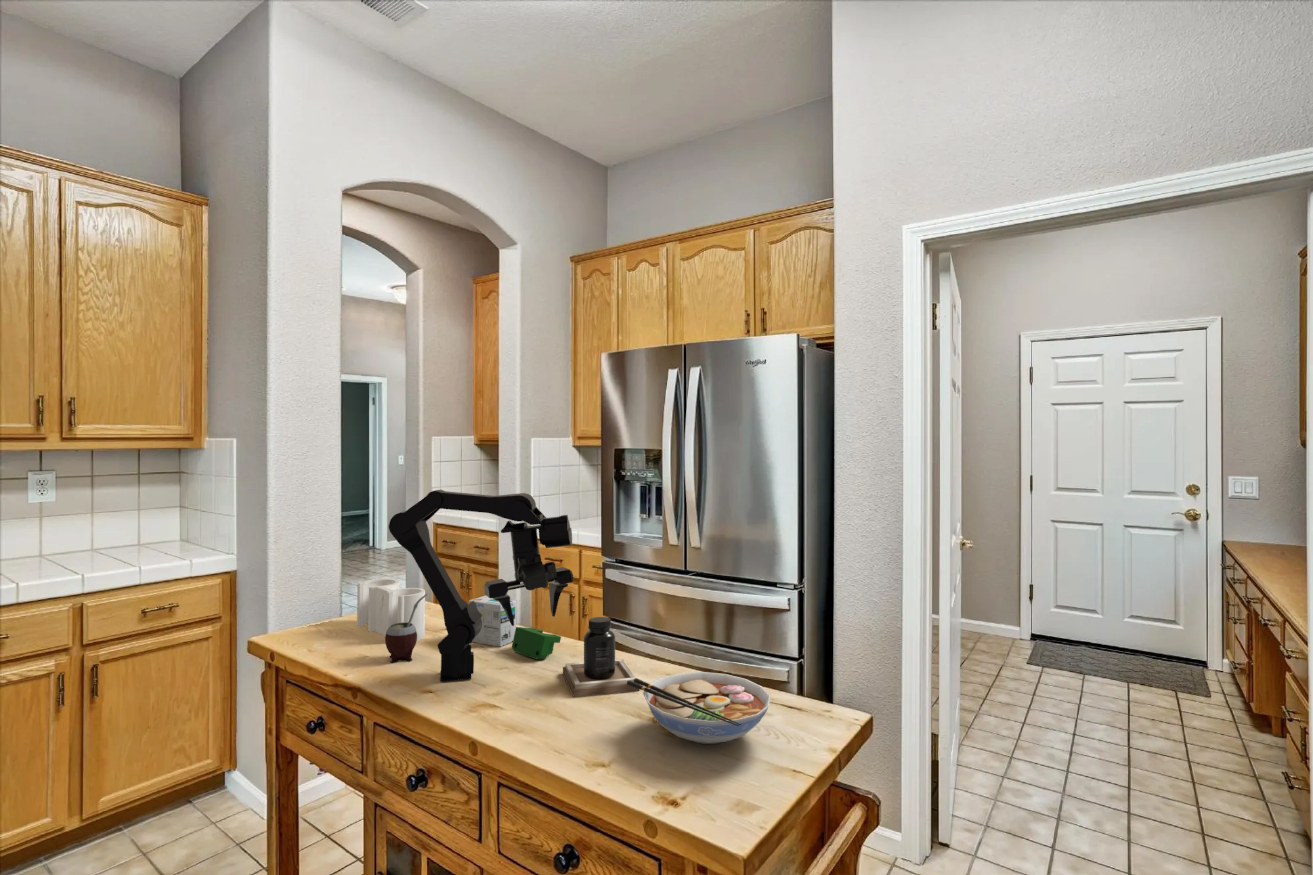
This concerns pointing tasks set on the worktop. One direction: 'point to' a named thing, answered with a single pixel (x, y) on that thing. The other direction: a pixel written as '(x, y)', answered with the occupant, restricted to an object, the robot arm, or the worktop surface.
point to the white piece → (389, 605)
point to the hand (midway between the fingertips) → (533, 620)
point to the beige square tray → (598, 680)
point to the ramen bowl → (705, 705)
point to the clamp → (534, 642)
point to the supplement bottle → (599, 649)
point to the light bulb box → (494, 622)
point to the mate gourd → (402, 639)
